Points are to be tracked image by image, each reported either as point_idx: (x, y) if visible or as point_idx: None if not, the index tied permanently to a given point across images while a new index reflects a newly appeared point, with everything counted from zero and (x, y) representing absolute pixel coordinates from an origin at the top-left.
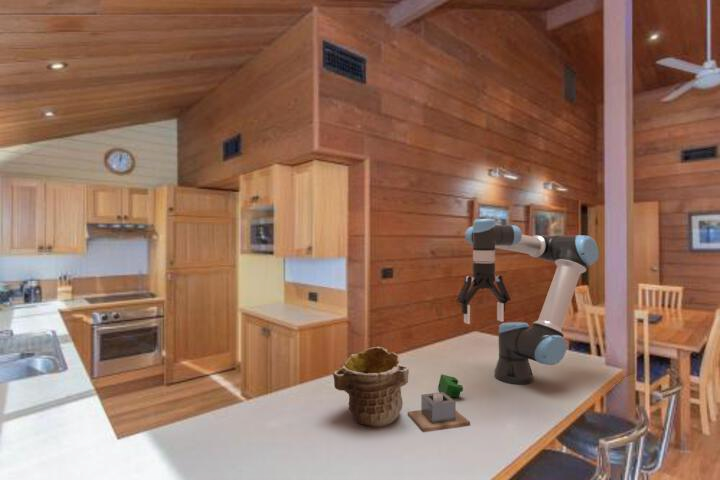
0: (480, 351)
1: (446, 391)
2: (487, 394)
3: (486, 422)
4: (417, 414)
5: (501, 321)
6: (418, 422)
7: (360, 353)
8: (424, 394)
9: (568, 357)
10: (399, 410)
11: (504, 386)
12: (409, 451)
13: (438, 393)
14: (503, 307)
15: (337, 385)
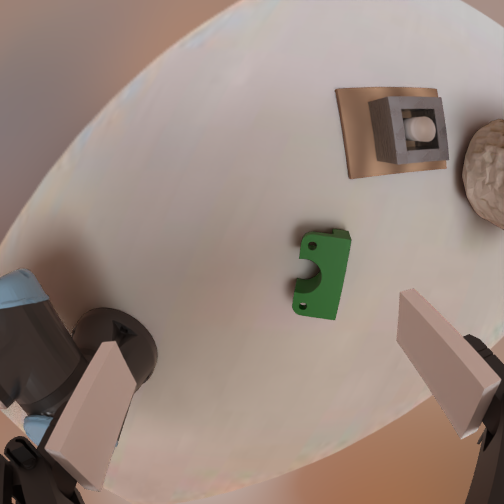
0: (151, 463)
1: (349, 234)
2: (216, 258)
3: (290, 96)
4: None
5: (116, 344)
6: None
7: None
8: (442, 159)
9: None
10: (478, 136)
11: (151, 302)
12: (458, 42)
13: (422, 138)
14: (59, 419)
15: None
